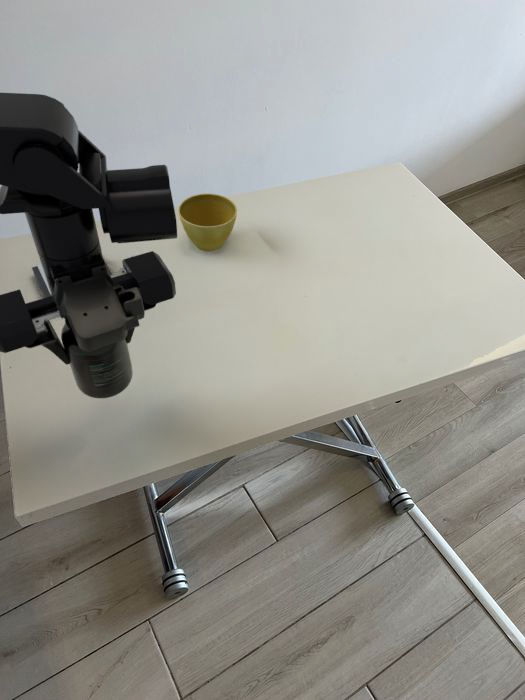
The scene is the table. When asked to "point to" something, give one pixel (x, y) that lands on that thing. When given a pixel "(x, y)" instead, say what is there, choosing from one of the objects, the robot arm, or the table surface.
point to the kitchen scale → (42, 279)
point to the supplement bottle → (98, 366)
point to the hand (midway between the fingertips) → (97, 351)
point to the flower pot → (207, 220)
